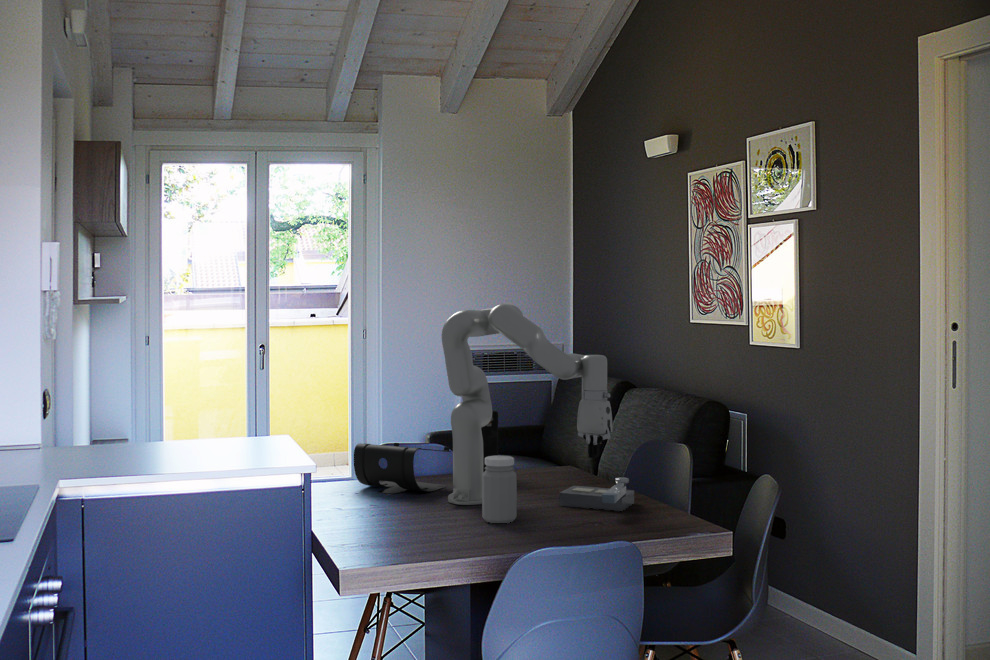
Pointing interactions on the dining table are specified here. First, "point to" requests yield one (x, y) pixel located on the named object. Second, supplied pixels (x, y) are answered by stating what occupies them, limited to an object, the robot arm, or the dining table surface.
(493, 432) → the voltmeter
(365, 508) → the dining table surface
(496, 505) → the jar
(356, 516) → the dining table surface
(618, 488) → the swing arm
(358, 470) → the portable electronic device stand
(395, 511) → the dining table surface
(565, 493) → the chassis
